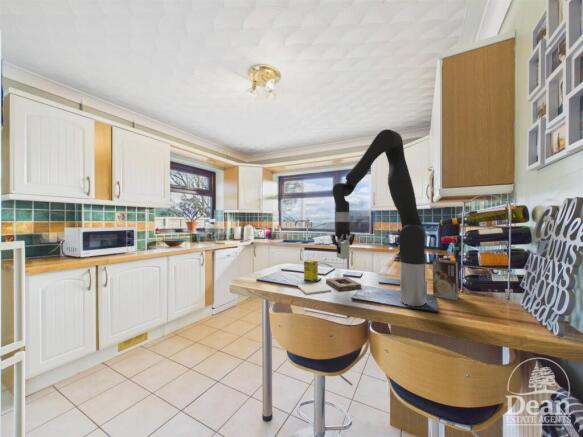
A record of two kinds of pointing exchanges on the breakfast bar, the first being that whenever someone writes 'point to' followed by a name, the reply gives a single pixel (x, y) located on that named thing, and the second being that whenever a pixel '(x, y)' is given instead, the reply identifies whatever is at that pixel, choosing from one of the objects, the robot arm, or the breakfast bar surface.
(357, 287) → the frame
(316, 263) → the supplement box
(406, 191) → the robot arm
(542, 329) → the breakfast bar surface
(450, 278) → the coffee box
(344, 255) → the sage block
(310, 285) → the tile mat
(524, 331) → the breakfast bar surface
